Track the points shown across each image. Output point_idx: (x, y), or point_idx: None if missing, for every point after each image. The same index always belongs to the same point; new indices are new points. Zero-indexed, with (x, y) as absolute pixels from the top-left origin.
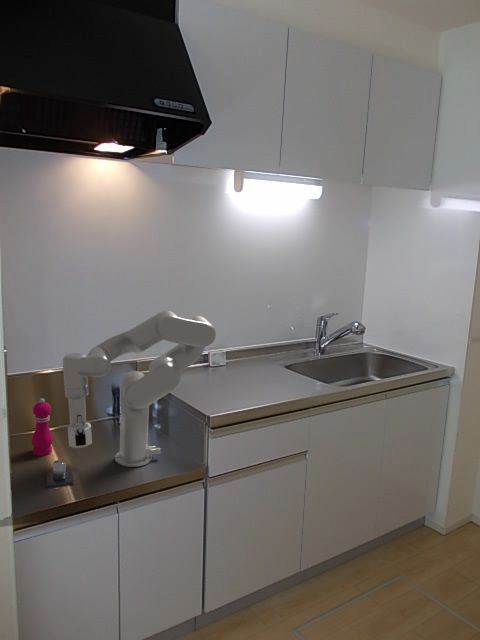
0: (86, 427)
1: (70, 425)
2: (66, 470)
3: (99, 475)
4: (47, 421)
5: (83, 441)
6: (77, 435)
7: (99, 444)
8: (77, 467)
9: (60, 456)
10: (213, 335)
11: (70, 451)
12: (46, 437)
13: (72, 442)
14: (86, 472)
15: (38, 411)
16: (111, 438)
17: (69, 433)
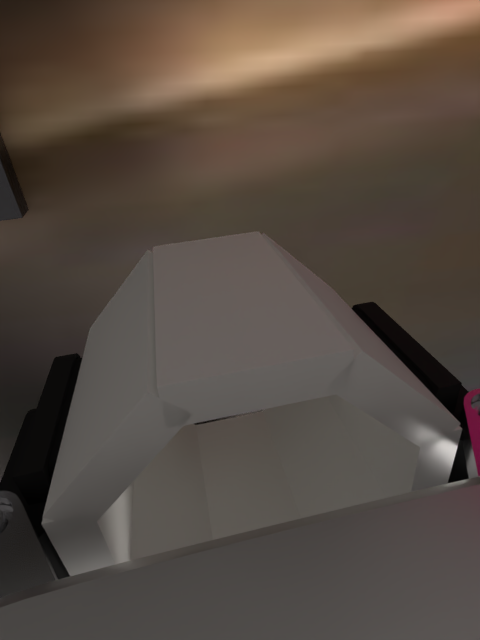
0: (325, 511)
1: (375, 393)
2: (2, 171)
3: (12, 380)
4: None
5: None
6: (32, 487)
7: (427, 337)
8: (124, 242)
9: (334, 90)
10: None
11: (397, 170)
12: None
13: (114, 320)
14: (47, 307)
15: None
16: (471, 382)
17: (131, 364)
